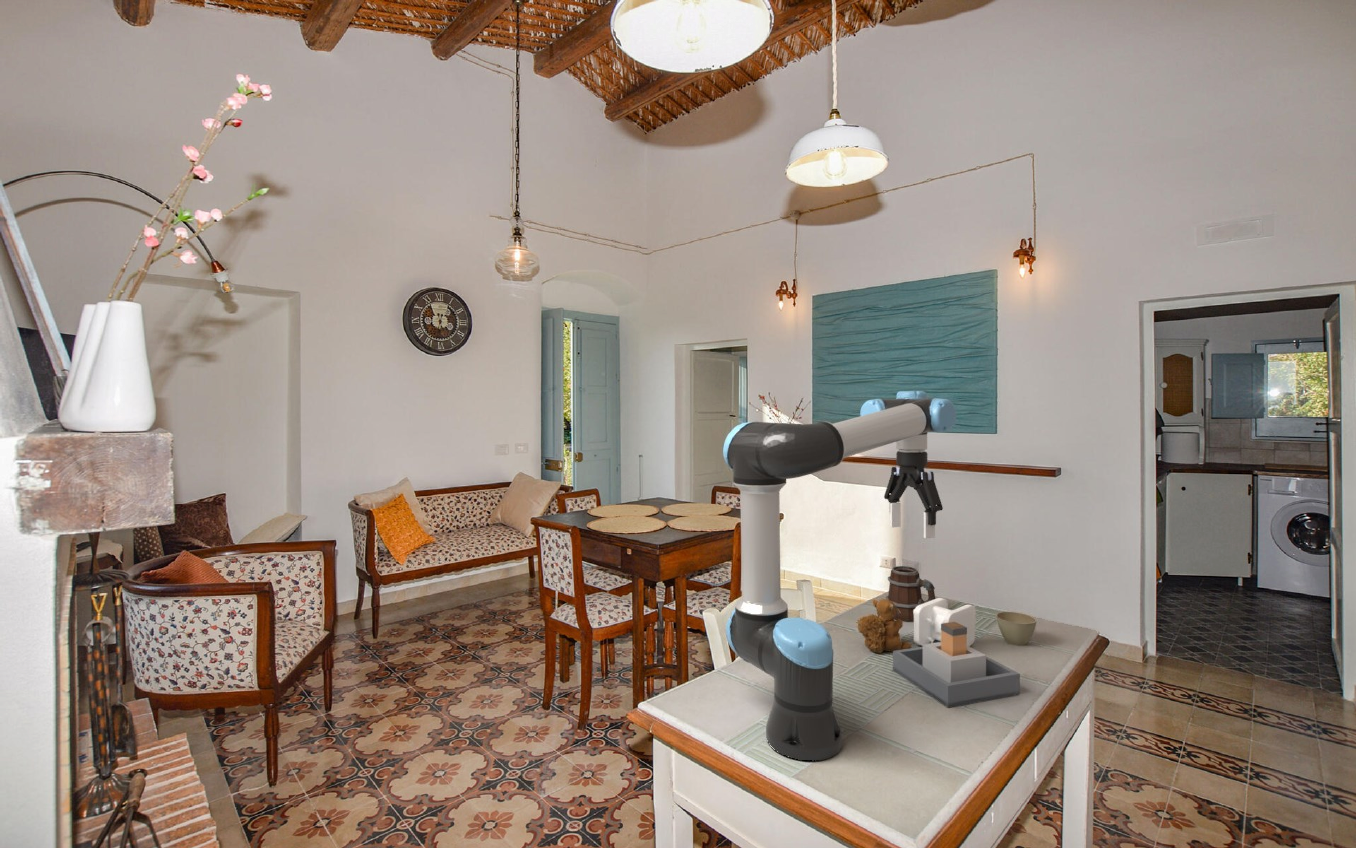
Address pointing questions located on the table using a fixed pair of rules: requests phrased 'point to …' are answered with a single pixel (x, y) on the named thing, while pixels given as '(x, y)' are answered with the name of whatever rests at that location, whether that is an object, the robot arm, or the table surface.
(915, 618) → the cable organizer
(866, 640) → the stuffed squirrel
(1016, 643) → the beige bowl
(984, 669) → the box
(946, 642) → the plug
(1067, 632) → the table surface
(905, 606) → the mug
